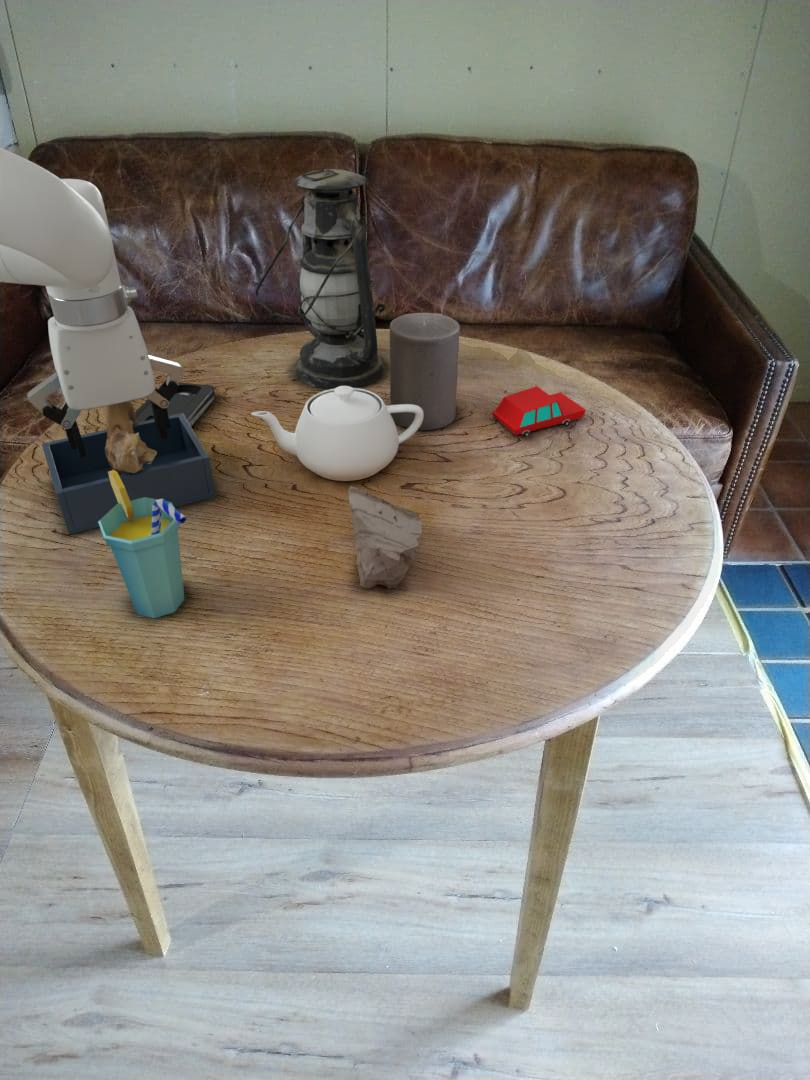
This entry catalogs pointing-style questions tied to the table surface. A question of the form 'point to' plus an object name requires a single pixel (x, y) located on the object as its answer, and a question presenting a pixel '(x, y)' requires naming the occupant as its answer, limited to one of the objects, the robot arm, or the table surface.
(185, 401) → the vhs tape
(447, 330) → the pillar candle
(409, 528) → the stone
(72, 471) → the dark blue storage bin
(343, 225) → the lantern
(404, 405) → the teapot
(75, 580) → the table surface
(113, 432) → the lion figurine
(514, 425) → the toy car
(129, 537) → the cup
